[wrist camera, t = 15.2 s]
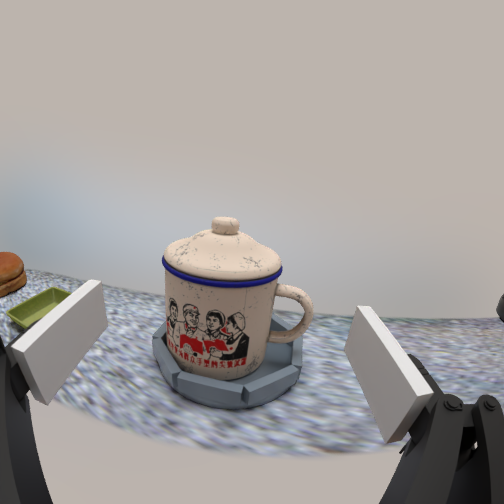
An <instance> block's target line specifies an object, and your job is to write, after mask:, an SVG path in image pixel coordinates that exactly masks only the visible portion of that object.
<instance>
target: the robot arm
mask: <svg viewBox="0 0 504 504" xmlns="http://www.w3.org/2000/svg"><path fill="white" fill-rule="evenodd" d="M496 311H497V313H498V315H499V316H500V318H501V319H502V320H503V321H504V294H503V295H502V297H501V298H500V300H499V303H498V306H497V309H496ZM107 327H108V323H107V317H106V311H105V304H104V297H103V289H102V282H101V281H97V280H91V279H90V280H89V281H87V282H86V283H85V284H83V285H82V286H81V287H80V288H78V289H77V290H76V291H75V292H73V293H72V294H71V295H70V296H68V297H67V298H66V299H65V300H63V301H62V302H61V303H60V304H59V305H57V306H56V307H55V308H54V309H53V310H51V311H50V312H49V313H48V314H47V315H45V316H44V317H42V318H40V319H38V320H36V321H34V322H33V323H32V324H30V325H29V326H28V327H27V329H25V330H24V331H23V332H22V333H20V334H19V335H18V336H17V337H16V338H15V339H14V340H13V341H11V342H10V343H9V344H8V345H7V346H6V347H4V344H3V341H2V339H1V336H0V504H53V502H52V499H51V497H50V494H49V491H48V488H47V485H46V482H45V478H44V475H43V472H42V468H41V465H40V461H39V456H38V453H37V448H36V443H35V438H34V433H33V427H32V421H31V413H30V406H29V399H28V396H27V395H26V393H27V392H28V391H29V390H30V391H31V393H32V395H33V397H34V398H35V400H37V401H39V402H41V403H43V404H45V405H48V404H49V403H50V402H51V400H52V399H53V397H54V396H55V395H56V393H57V392H58V390H59V389H60V388H61V386H62V385H63V384H64V382H65V381H66V379H67V378H68V377H69V375H70V374H71V373H72V371H73V370H74V369H75V367H76V366H77V365H78V363H79V362H80V361H81V360H82V358H83V357H84V356H85V354H86V353H87V352H88V351H89V349H90V348H91V347H92V345H93V344H94V343H95V342H96V340H97V339H98V338H99V337H100V335H101V334H102V333H103V332H104V330H105V329H106V328H107ZM344 351H345V353H346V355H347V358H348V360H349V362H350V364H351V366H352V368H353V371H354V373H355V375H356V377H357V379H358V382H359V384H360V386H361V388H362V390H363V393H364V395H365V397H366V399H367V402H368V404H369V406H370V409H371V411H372V413H373V416H374V418H375V420H376V423H377V425H378V427H379V430H380V432H381V435H382V437H383V439H384V442H385V444H388V443H392V442H396V441H401V440H402V439H403V437H404V436H405V435H406V433H407V432H409V434H410V436H411V438H410V440H409V441H408V442H407V443H406V445H405V446H404V447H403V448H402V449H401V451H400V452H399V453H400V454H401V453H402V452H403V451H404V453H403V455H402V457H401V460H400V462H399V464H398V467H397V469H396V471H395V473H394V475H393V477H392V479H391V482H390V484H389V486H388V488H387V489H386V491H385V494H384V495H383V497H382V499H381V501H380V503H379V504H504V416H503V412H502V409H501V406H500V404H499V402H498V401H497V400H496V398H495V397H493V396H490V395H482V396H480V397H479V399H478V400H477V402H476V403H475V404H463V402H462V400H460V399H459V398H458V397H456V396H454V395H451V394H444V393H443V392H442V391H441V389H440V388H439V386H438V385H437V384H436V382H435V381H434V379H433V378H432V377H431V375H429V373H428V371H427V370H426V369H424V368H425V367H424V366H423V365H422V363H421V362H420V361H419V360H418V359H417V358H416V357H414V356H413V355H411V354H406V353H405V351H404V350H403V349H402V347H401V346H400V345H399V343H398V342H397V341H396V339H395V338H394V337H393V335H392V334H391V333H390V331H389V330H388V329H387V327H386V326H385V325H384V324H383V322H382V321H381V320H380V318H379V317H378V316H377V315H376V313H375V312H374V311H373V310H372V308H371V307H370V306H357V307H356V311H355V315H354V318H353V322H352V325H351V328H350V332H349V335H348V338H347V341H346V344H345V348H344ZM476 442H477V448H476V449H475V447H474V444H475V443H476Z"/></svg>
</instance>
